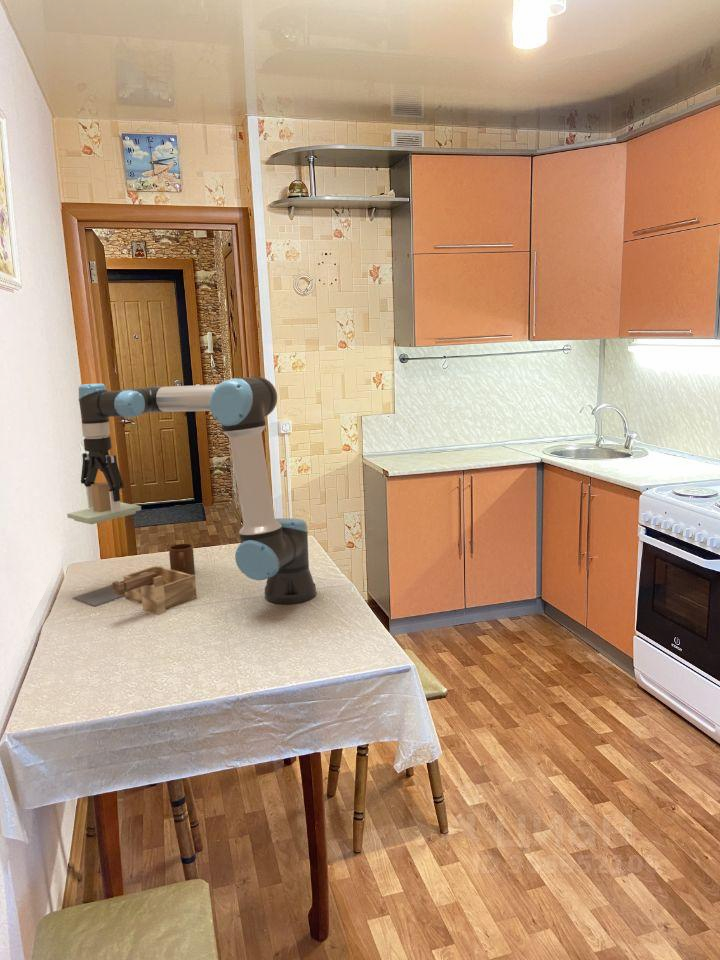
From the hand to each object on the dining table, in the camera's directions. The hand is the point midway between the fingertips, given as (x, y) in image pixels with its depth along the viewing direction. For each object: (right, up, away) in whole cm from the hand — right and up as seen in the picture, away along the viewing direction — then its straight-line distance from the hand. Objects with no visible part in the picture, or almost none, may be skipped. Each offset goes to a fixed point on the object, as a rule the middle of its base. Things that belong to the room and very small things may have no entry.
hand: (104, 509), depth 213 cm
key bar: (+15, -21, -16) cm, 30 cm away
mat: (+1, -26, +5) cm, 26 cm away
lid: (0, -1, 0) cm, 1 cm away
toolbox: (+17, -27, -3) cm, 32 cm away
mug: (+19, -23, +18) cm, 35 cm away
